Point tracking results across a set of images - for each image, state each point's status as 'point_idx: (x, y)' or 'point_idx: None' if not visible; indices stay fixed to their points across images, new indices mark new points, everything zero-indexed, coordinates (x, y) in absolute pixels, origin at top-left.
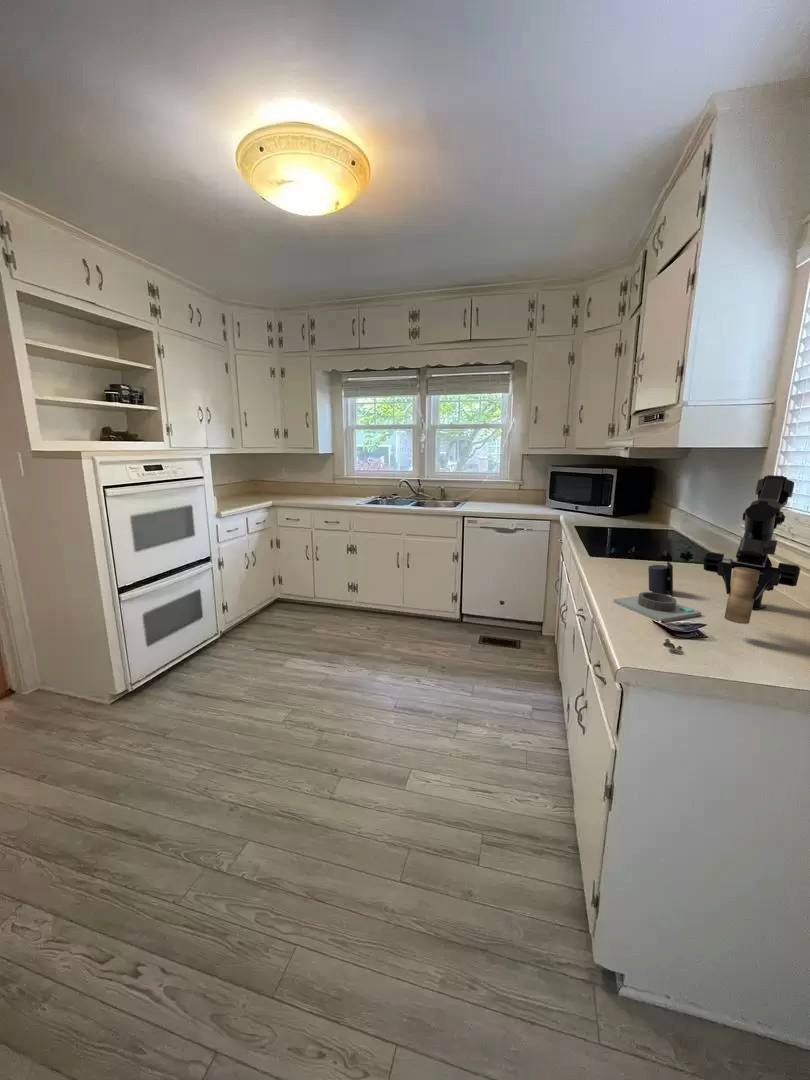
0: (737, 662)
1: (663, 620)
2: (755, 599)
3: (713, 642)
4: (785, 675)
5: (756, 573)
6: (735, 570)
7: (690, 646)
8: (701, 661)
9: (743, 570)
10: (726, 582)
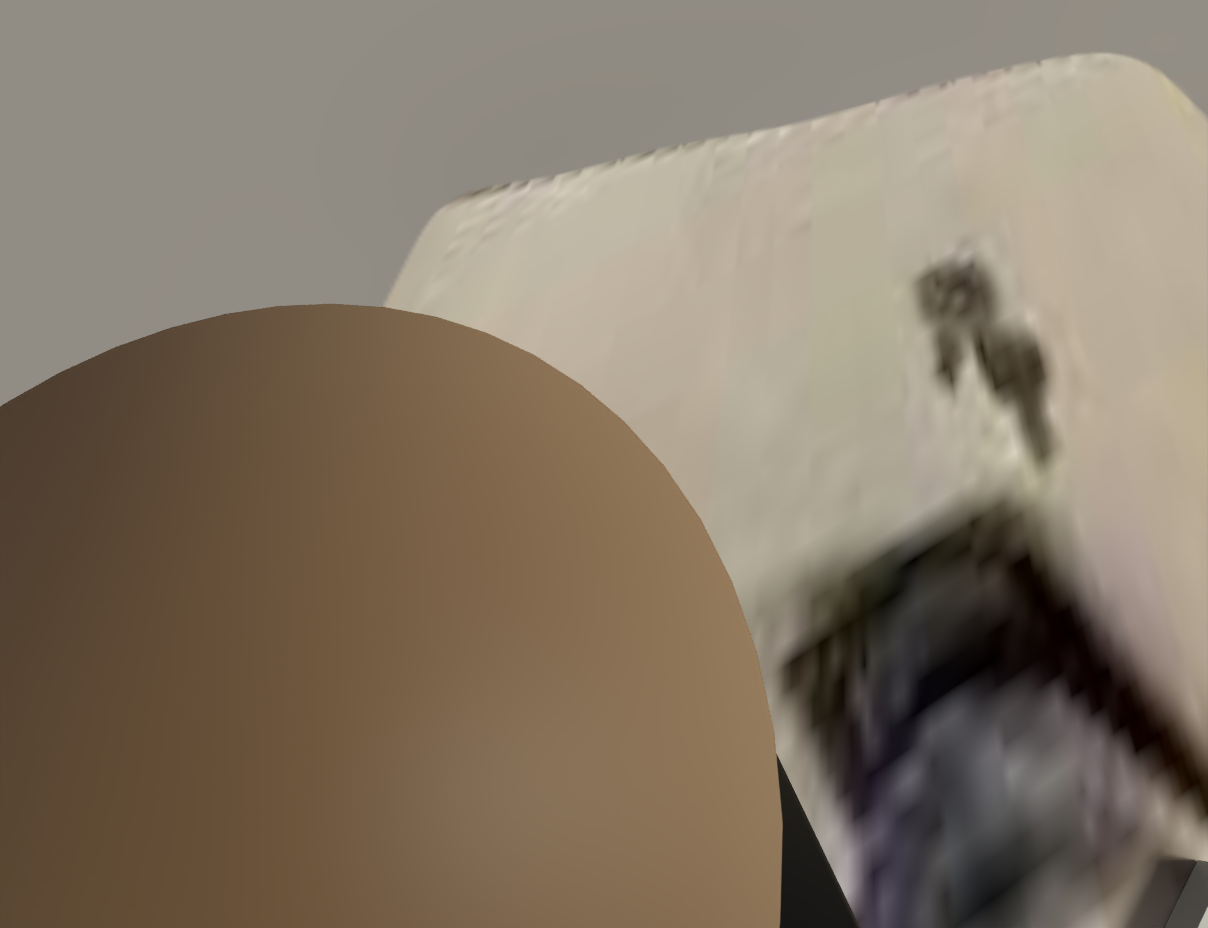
0: (643, 331)
1: (1194, 897)
2: None
3: (745, 577)
4: (446, 303)
5: (60, 398)
6: (722, 603)
7: (887, 416)
8: (821, 249)
9: (420, 526)
10: (813, 860)
